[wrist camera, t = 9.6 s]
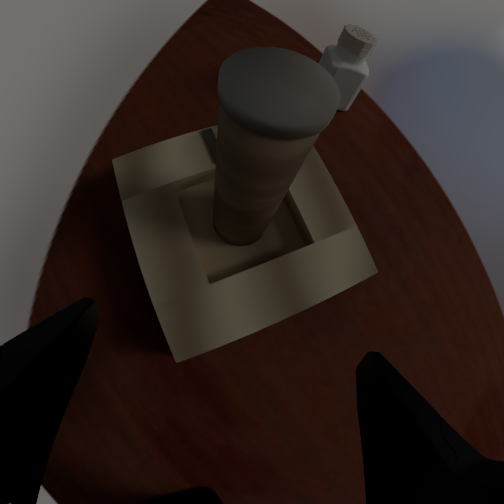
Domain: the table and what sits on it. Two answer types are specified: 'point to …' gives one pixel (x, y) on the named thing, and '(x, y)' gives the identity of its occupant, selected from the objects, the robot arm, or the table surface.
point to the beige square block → (232, 246)
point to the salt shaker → (349, 62)
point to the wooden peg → (265, 134)
